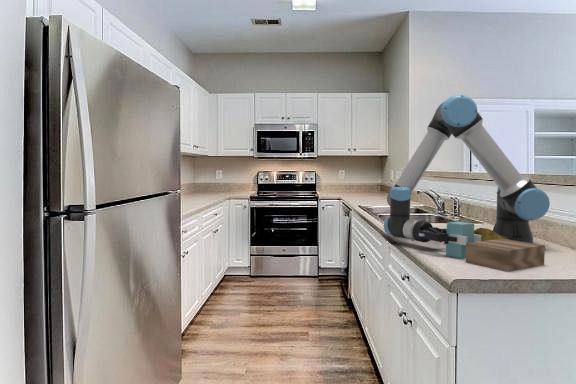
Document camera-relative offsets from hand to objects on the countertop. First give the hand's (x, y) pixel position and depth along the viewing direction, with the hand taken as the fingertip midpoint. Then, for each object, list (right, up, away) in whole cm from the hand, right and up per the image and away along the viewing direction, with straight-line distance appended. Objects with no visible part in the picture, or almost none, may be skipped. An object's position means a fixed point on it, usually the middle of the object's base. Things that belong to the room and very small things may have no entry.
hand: (473, 240), depth 139 cm
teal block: (-3, -6, +5) cm, 8 cm away
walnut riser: (+7, -6, -6) cm, 11 cm away
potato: (+13, -6, +15) cm, 20 cm away
